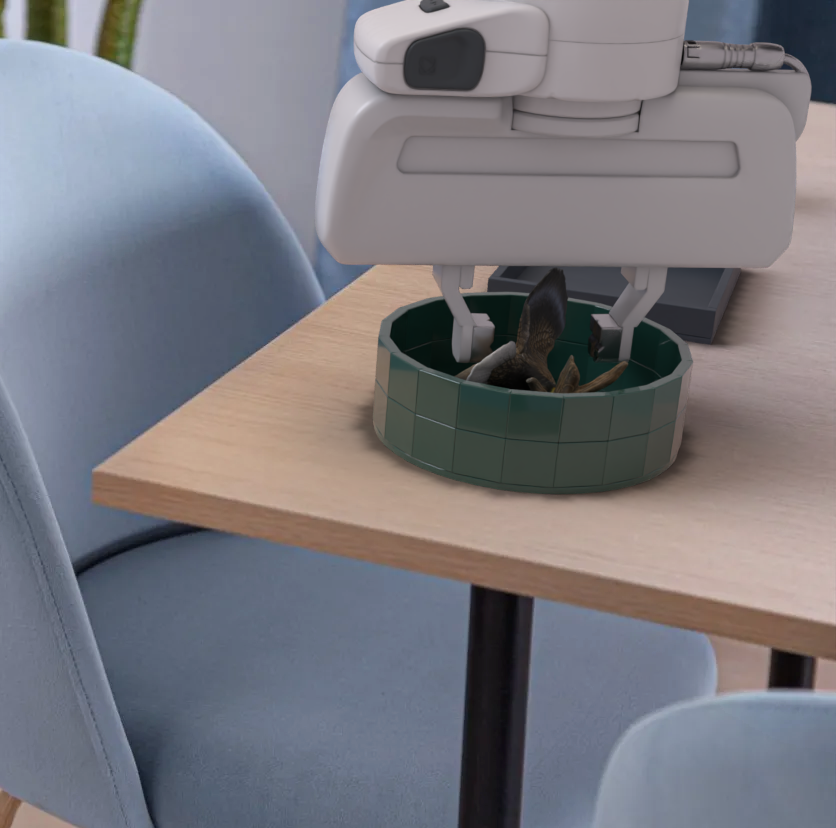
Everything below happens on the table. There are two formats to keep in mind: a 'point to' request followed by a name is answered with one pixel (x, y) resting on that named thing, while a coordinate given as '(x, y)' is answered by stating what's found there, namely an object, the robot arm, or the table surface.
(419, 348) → the pot
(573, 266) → the robot arm
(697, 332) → the tray
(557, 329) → the eagle figurine
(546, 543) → the table surface
